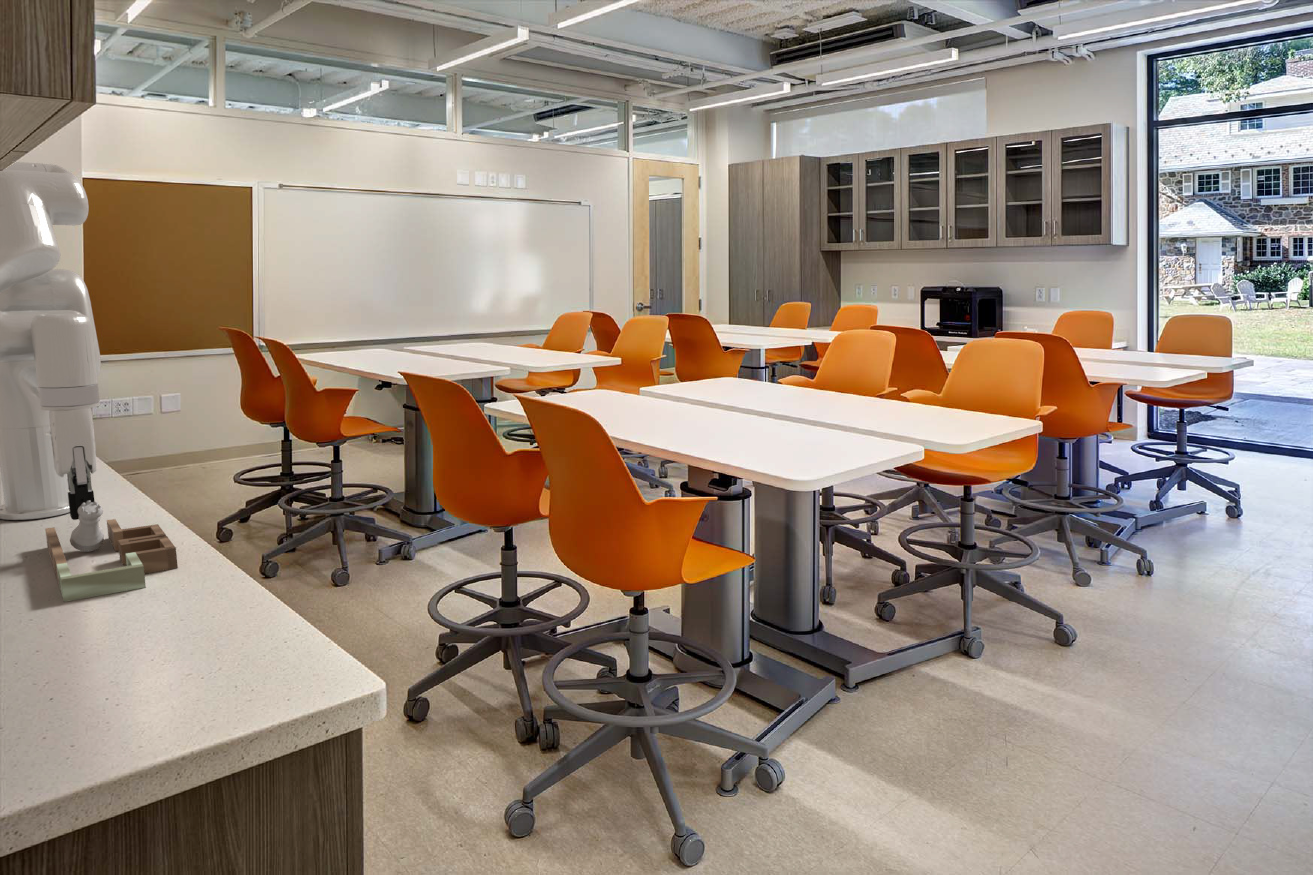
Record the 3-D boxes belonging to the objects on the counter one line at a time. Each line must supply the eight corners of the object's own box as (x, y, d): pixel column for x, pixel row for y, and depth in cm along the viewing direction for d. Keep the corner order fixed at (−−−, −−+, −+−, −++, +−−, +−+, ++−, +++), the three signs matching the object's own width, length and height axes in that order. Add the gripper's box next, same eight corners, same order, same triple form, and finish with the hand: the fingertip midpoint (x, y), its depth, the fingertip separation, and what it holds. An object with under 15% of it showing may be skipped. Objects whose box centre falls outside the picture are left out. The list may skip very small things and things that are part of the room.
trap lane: (47, 547, 143) (45, 528, 142) (152, 531, 151) (150, 514, 151) (63, 601, 120) (61, 579, 119) (186, 580, 128) (184, 559, 128)
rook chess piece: (87, 558, 140) (91, 522, 135) (62, 542, 140) (65, 506, 135) (110, 541, 143) (115, 506, 139) (85, 526, 143) (90, 491, 139)
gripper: (36, 394, 141) (50, 511, 144) (43, 405, 129) (58, 532, 132) (93, 390, 145) (105, 504, 149) (105, 400, 133) (118, 524, 137)
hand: (83, 517), depth 140 cm, fingers closed
